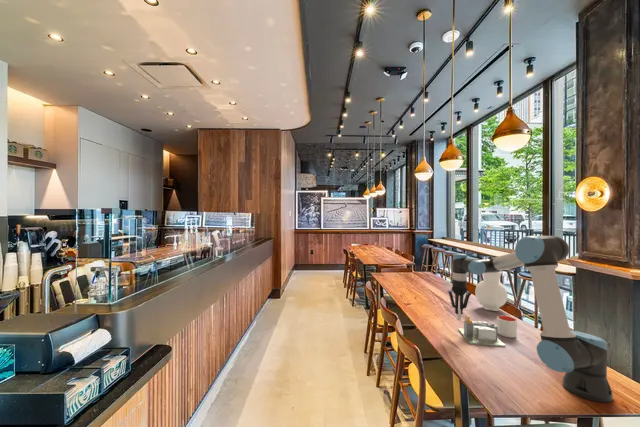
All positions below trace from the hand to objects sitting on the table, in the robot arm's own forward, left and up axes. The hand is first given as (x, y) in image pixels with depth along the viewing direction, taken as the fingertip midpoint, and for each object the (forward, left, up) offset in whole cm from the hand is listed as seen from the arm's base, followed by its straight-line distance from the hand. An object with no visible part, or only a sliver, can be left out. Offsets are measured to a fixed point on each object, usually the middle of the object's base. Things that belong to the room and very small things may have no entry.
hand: (458, 319), depth 171 cm
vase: (+58, -41, -10) cm, 72 cm away
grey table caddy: (0, -12, -10) cm, 16 cm away
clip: (0, -5, -1) cm, 6 cm away
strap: (0, -14, -3) cm, 14 cm away
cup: (+8, -30, -10) cm, 33 cm away
